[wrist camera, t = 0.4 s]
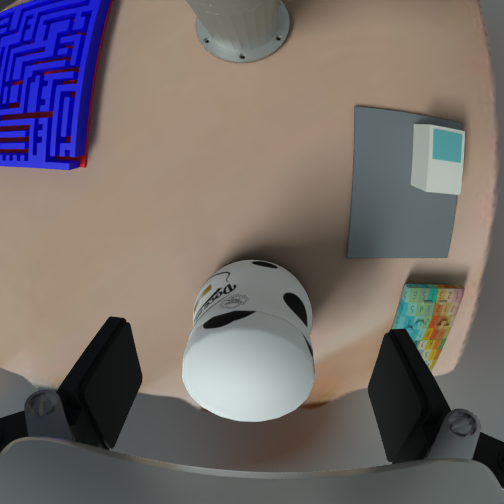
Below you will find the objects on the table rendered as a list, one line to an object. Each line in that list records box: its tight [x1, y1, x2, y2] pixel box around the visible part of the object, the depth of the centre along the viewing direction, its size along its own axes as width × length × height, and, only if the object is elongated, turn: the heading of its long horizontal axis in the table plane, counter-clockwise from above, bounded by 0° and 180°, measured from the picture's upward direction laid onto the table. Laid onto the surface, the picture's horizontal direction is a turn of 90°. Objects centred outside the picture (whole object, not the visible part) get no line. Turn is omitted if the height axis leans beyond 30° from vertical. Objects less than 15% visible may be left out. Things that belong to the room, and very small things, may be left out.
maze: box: [0, 0, 113, 170], centre depth 36 cm, size 30×30×4 cm
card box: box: [411, 124, 465, 195], centre depth 37 cm, size 9×6×5 cm, turn 1°
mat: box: [347, 106, 462, 258], centre depth 42 cm, size 22×18×1 cm
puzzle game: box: [391, 284, 464, 371], centre depth 49 cm, size 12×5×20 cm
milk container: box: [182, 260, 314, 422], centre depth 42 cm, size 17×17×18 cm
